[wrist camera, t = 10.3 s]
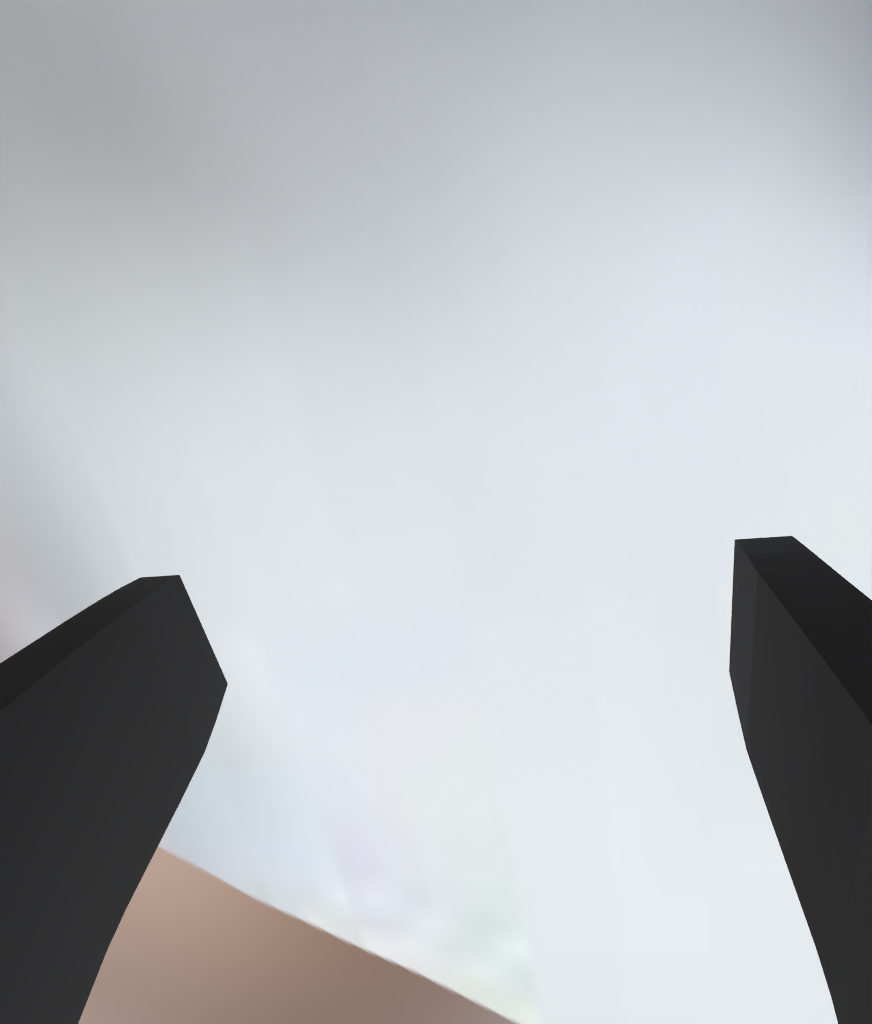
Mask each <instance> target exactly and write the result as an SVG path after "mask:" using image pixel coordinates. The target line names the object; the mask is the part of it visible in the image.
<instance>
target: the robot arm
mask: <svg viewBox="0 0 872 1024" xmlns="http://www.w3.org/2000/svg"><path fill="white" fill-rule="evenodd" d="M729 672H730V677H731V681H732V686H733V691H734V695H735V700H736V705H737V710H738V714H739V719H740V723H741V727H742V732H743V736H744V740H745V745H746V749H747V752H748V755H749V758H750V761H751V764H752V767H753V770H754V773H755V776H756V778H757V781H758V784H759V787H760V790H761V793H762V796H763V799H764V801H765V804H766V807H767V810H768V813H769V816H770V819H771V821H772V824H773V827H774V830H775V833H776V836H777V838H778V841H779V844H780V847H781V850H782V853H783V855H784V858H785V861H786V864H787V867H788V870H789V872H790V875H791V878H792V881H793V884H794V886H795V889H796V892H797V895H798V898H799V901H800V903H801V906H802V909H803V912H804V915H805V918H806V920H807V923H808V926H809V929H810V932H811V935H812V937H813V940H814V943H815V946H816V949H817V952H818V955H819V959H820V962H821V965H822V968H823V971H824V975H825V978H826V981H827V984H828V988H829V991H830V994H831V997H832V1001H833V1005H834V1009H835V1013H836V1017H837V1020H838V1024H872V600H871V599H869V598H868V597H867V596H866V595H864V594H863V593H862V592H861V591H859V590H858V589H857V588H856V587H854V586H853V585H852V584H851V583H849V582H848V581H847V580H846V579H844V578H843V577H842V576H841V575H840V574H838V573H837V572H836V571H835V570H833V569H832V568H831V567H830V566H829V565H827V564H826V563H825V562H824V561H822V560H821V559H820V558H819V557H818V556H816V555H815V554H814V553H813V552H812V551H810V550H809V549H808V548H807V547H805V546H804V545H803V544H802V543H800V542H799V541H798V540H797V539H795V538H794V537H793V536H785V537H769V538H753V539H738V540H735V548H734V572H733V595H732V619H731V643H730V667H729ZM226 687H227V681H226V679H225V677H224V675H223V672H222V670H221V668H220V666H219V663H218V661H217V659H216V657H215V654H214V652H213V650H212V648H211V645H210V643H209V641H208V638H207V636H206V634H205V632H204V629H203V627H202V625H201V623H200V620H199V618H198V616H197V614H196V611H195V609H194V607H193V605H192V602H191V600H190V598H189V596H188V593H187V591H186V589H185V587H184V584H183V582H182V580H181V577H180V575H173V576H158V577H142V578H139V579H137V580H135V581H133V582H131V583H129V584H127V585H125V586H123V587H121V588H120V589H118V590H116V591H114V592H113V593H111V594H109V595H107V596H106V597H104V598H102V599H101V600H99V601H97V602H96V603H94V604H93V605H91V606H89V607H88V608H86V609H84V610H83V611H81V612H80V613H78V614H76V615H75V616H73V617H72V618H70V619H69V620H67V621H65V622H64V623H62V624H61V625H59V626H58V627H56V628H55V629H53V630H51V631H50V632H48V633H47V634H45V635H44V636H42V637H41V638H39V639H37V640H36V641H34V642H33V643H31V644H30V645H28V646H27V647H25V648H23V649H22V650H20V651H19V652H17V653H16V654H14V655H13V656H11V657H9V658H8V659H6V660H5V661H3V662H2V663H0V1024H78V1022H79V1020H80V1017H81V1015H82V1012H83V1009H84V1007H85V1004H86V1002H87V999H88V997H89V994H90V992H91V989H92V987H93V984H94V982H95V979H96V977H97V974H98V972H99V969H100V966H101V964H102V962H103V959H104V956H105V954H106V951H107V949H108V947H109V945H110V942H111V940H112V938H113V936H114V934H115V932H116V929H117V927H118V925H119V923H120V921H121V919H122V916H123V914H124V912H125V910H126V907H127V906H128V904H129V902H130V900H131V898H132V896H133V894H134V892H135V890H136V888H137V886H138V884H139V882H140V880H141V878H142V876H143V874H144V872H145V870H146V868H147V866H148V864H149V862H150V860H151V859H152V857H153V854H154V853H155V851H156V849H157V847H158V845H159V843H160V841H161V839H162V837H163V835H164V833H165V831H166V829H167V827H168V825H169V823H170V821H171V819H172V817H173V815H174V813H175V811H176V809H177V807H178V805H179V803H180V801H181V799H182V797H183V795H184V793H185V791H186V789H187V787H188V785H189V783H190V781H191V779H192V777H193V775H194V773H195V771H196V769H197V767H198V765H199V762H200V760H201V758H202V756H203V754H204V752H205V749H206V747H207V744H208V741H209V738H210V736H211V733H212V730H213V727H214V725H215V722H216V719H217V716H218V713H219V710H220V706H221V703H222V700H223V697H224V694H225V691H226Z"/></svg>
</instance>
